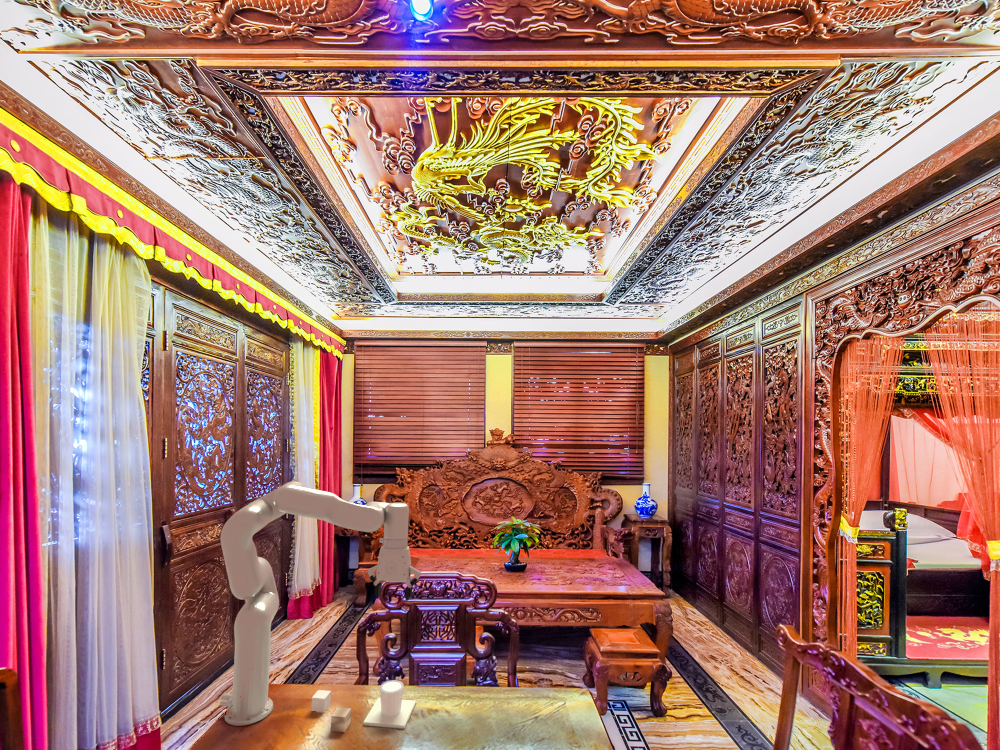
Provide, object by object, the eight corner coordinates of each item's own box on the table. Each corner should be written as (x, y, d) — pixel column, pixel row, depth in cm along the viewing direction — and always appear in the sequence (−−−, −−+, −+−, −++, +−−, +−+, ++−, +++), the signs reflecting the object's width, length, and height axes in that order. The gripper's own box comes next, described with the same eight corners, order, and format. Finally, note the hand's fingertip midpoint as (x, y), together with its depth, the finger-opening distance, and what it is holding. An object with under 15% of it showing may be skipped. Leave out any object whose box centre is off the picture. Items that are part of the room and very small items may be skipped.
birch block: (330, 731, 133) (331, 715, 133) (336, 722, 137) (337, 707, 137) (344, 732, 132) (345, 717, 133) (350, 723, 136) (351, 708, 137)
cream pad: (363, 725, 136) (363, 722, 136) (378, 700, 147) (378, 697, 148) (404, 728, 134) (404, 725, 134) (416, 703, 146) (416, 700, 146)
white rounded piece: (396, 720, 137) (397, 694, 137) (374, 716, 138) (375, 690, 139) (406, 706, 143) (407, 681, 144) (385, 702, 145) (386, 678, 146)
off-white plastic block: (311, 711, 141) (311, 697, 142) (317, 703, 145) (318, 689, 146) (324, 713, 141) (324, 698, 141) (330, 704, 145) (331, 691, 145)
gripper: (365, 544, 150) (362, 600, 148) (418, 547, 148) (416, 604, 147) (373, 538, 157) (371, 592, 156) (425, 541, 156) (422, 595, 154)
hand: (393, 598), depth 151 cm, fingers open, 9 cm apart
